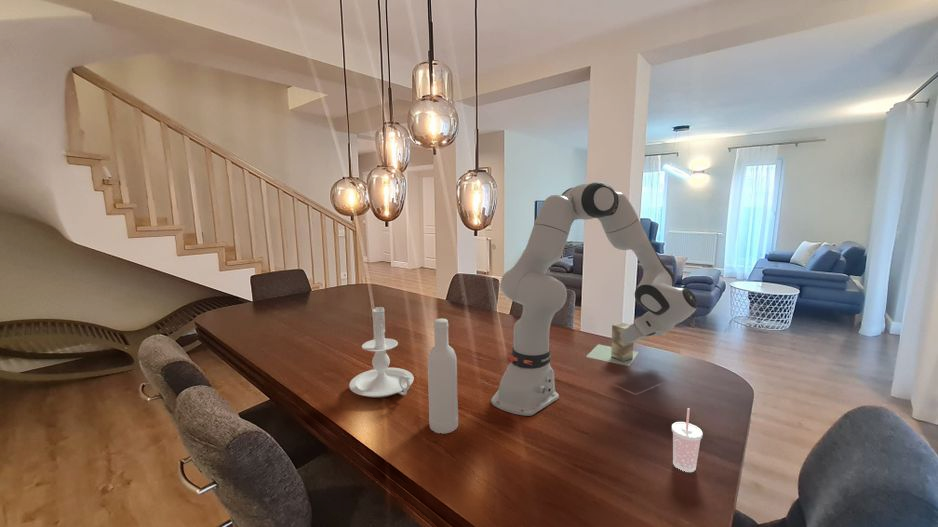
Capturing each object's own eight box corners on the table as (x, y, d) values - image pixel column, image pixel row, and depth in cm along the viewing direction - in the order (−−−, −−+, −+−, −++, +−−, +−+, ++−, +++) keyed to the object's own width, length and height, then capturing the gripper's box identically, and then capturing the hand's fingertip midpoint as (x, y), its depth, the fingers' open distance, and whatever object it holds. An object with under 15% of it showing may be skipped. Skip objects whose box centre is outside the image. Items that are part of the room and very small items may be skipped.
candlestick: (383, 418, 110) (377, 323, 106) (337, 391, 126) (331, 308, 122) (435, 391, 125) (432, 307, 121) (388, 370, 141) (385, 296, 137)
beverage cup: (666, 454, 92) (670, 400, 90) (695, 459, 90) (700, 403, 88) (672, 471, 86) (676, 413, 84) (703, 476, 85) (708, 417, 82)
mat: (629, 367, 141) (629, 366, 141) (585, 357, 150) (585, 356, 150) (638, 353, 154) (638, 352, 154) (598, 345, 163) (598, 344, 163)
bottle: (461, 431, 103) (459, 323, 98) (432, 436, 101) (428, 326, 96) (454, 415, 111) (451, 314, 106) (427, 420, 108) (423, 317, 104)
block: (632, 358, 147) (633, 325, 145) (623, 362, 144) (624, 328, 143) (620, 354, 152) (621, 322, 150) (611, 357, 149) (612, 324, 147)
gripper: (667, 310, 141) (642, 328, 151) (632, 319, 131) (607, 338, 140) (679, 324, 138) (652, 342, 148) (644, 335, 128) (617, 354, 137)
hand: (630, 341), depth 144 cm, fingers closed, pressing on block
